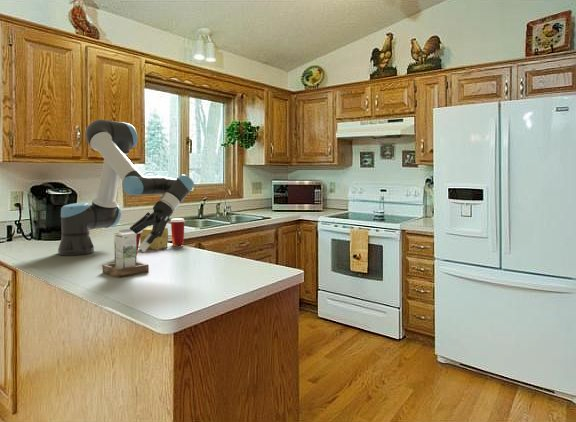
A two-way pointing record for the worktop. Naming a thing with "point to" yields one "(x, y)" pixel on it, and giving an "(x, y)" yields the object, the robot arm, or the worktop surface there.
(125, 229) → the plastic cup
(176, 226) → the paper cup
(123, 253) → the syrup box
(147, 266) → the tray
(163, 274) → the worktop surface
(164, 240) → the cheese
